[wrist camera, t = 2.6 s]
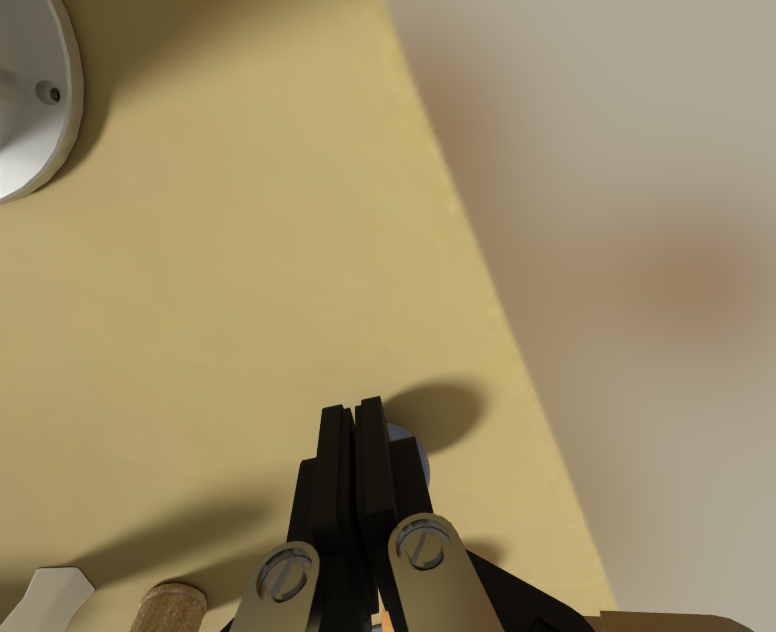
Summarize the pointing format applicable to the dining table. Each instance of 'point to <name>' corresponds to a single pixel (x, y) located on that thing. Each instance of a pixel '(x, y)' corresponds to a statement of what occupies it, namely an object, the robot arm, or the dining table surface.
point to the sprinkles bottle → (171, 610)
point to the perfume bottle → (49, 601)
